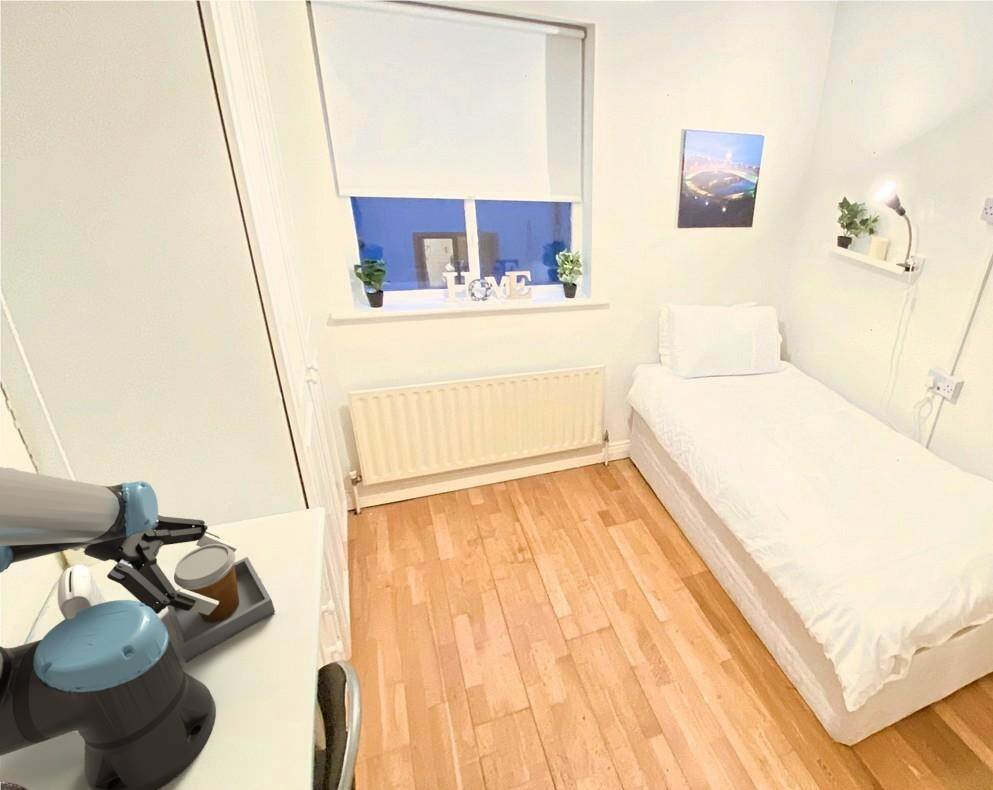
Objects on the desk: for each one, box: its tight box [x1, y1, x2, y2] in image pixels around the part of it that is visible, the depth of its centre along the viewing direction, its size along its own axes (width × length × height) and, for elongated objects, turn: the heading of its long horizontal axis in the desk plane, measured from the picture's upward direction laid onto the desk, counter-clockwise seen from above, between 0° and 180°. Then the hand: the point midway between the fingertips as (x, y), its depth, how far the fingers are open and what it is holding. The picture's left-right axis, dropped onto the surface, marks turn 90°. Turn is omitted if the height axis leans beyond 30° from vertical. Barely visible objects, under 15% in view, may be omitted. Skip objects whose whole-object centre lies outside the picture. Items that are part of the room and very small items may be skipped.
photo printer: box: [57, 564, 107, 620], centre depth 81 cm, size 10×4×12 cm, turn 39°
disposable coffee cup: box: [173, 544, 239, 622], centre depth 83 cm, size 10×10×12 cm
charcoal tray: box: [166, 556, 276, 663], centre depth 85 cm, size 15×15×4 cm
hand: (224, 578), depth 83 cm, fingers open, 13 cm apart
